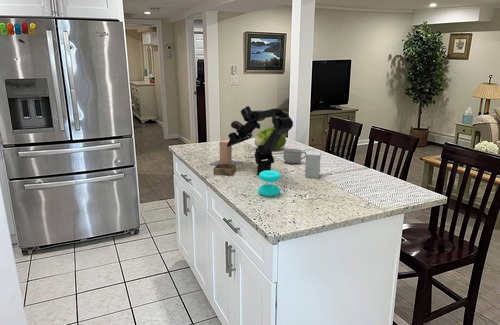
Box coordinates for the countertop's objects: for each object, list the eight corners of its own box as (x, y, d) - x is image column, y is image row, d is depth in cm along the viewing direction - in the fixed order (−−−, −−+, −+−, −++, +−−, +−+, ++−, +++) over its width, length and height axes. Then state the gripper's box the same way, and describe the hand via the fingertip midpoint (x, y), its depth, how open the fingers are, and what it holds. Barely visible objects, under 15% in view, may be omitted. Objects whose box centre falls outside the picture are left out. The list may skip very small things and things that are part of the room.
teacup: (280, 163, 223) (280, 150, 221) (287, 159, 232) (287, 146, 230) (302, 166, 217) (302, 153, 215) (308, 162, 226) (309, 149, 224)
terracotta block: (231, 162, 222) (231, 141, 218) (227, 164, 217) (227, 142, 214) (224, 161, 224) (224, 140, 220) (219, 163, 220) (219, 141, 216)
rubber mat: (242, 162, 223) (242, 161, 223) (229, 168, 212) (229, 167, 212) (222, 159, 230) (222, 158, 230) (209, 164, 218) (209, 164, 218)
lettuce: (253, 150, 263) (248, 131, 256) (279, 139, 268) (275, 120, 261) (263, 159, 250) (258, 140, 242) (290, 147, 255) (286, 128, 247)
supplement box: (319, 174, 203) (321, 151, 199) (318, 178, 196) (320, 155, 192) (306, 173, 205) (307, 150, 201) (304, 177, 198) (305, 154, 194)
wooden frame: (235, 170, 208) (236, 164, 207) (232, 175, 198) (232, 169, 197) (217, 169, 209) (217, 163, 209) (213, 174, 200) (213, 168, 199)
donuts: (276, 169, 177) (284, 175, 167) (275, 189, 179) (283, 196, 170) (256, 170, 174) (262, 176, 165) (255, 190, 177) (262, 198, 168)
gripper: (247, 114, 217) (231, 131, 225) (231, 118, 201) (214, 136, 209) (259, 129, 215) (242, 145, 223) (244, 134, 199) (226, 152, 207)
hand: (231, 144), depth 215 cm, fingers open, 9 cm apart
